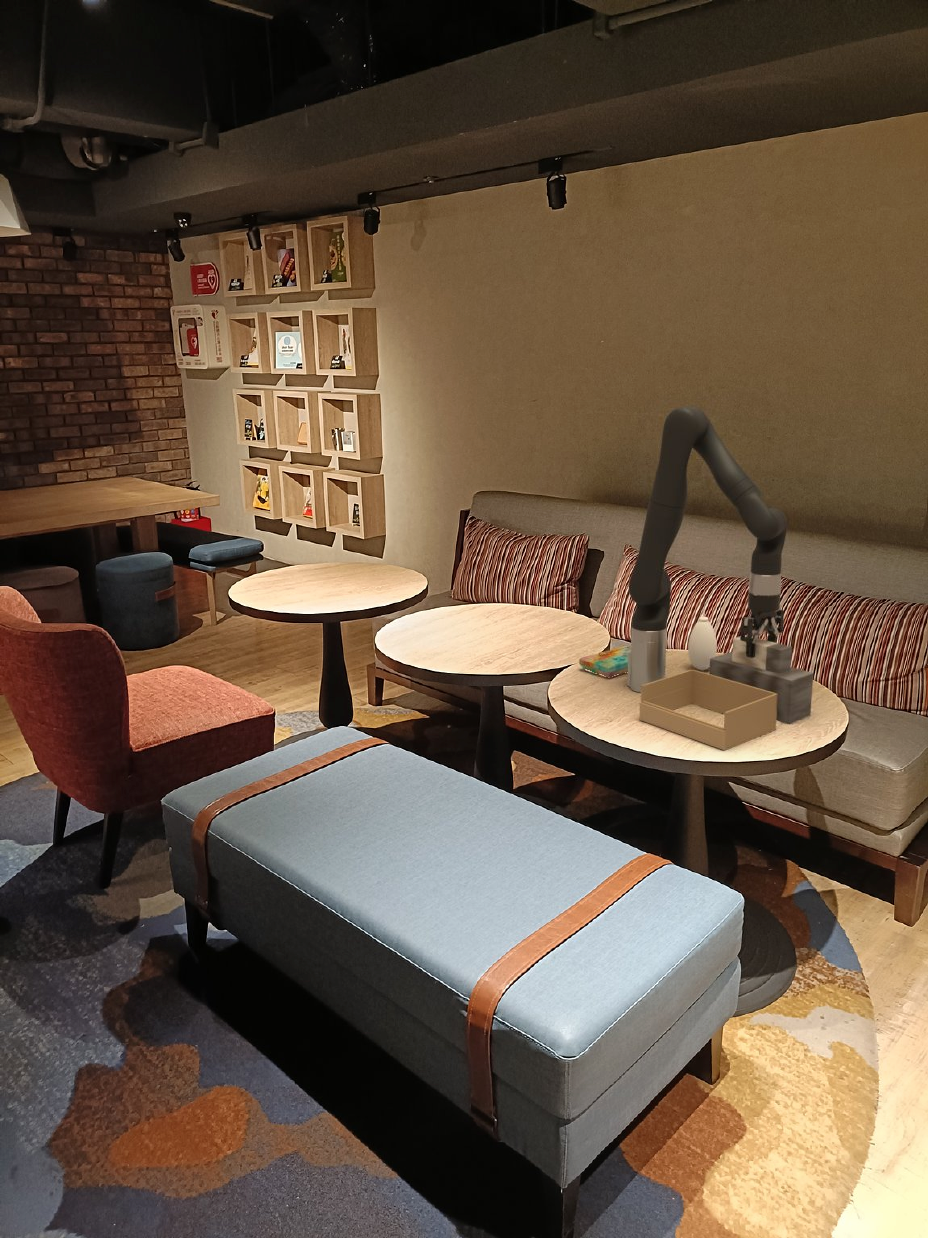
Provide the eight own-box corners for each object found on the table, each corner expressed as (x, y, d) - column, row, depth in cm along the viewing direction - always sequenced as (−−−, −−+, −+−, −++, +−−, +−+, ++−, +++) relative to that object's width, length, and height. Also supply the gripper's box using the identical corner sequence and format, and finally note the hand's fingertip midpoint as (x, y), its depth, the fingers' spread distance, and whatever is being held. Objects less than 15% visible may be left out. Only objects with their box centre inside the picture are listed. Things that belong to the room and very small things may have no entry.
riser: (708, 698, 241) (709, 658, 238) (729, 691, 246) (731, 651, 243) (788, 724, 222) (791, 680, 220) (810, 715, 228) (813, 673, 225)
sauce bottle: (683, 671, 264) (685, 609, 259) (693, 663, 270) (695, 604, 266) (709, 675, 260) (712, 613, 255) (719, 667, 266) (722, 607, 261)
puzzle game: (579, 656, 266) (626, 642, 277) (579, 671, 267) (626, 657, 279) (609, 665, 257) (656, 651, 268) (609, 681, 258) (656, 666, 270)
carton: (639, 720, 227) (640, 685, 225) (691, 702, 239) (692, 669, 236) (723, 750, 208) (725, 713, 206) (775, 729, 219) (778, 693, 217)
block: (732, 661, 236) (733, 638, 234) (743, 657, 238) (744, 635, 237) (779, 673, 225) (781, 650, 223) (790, 670, 227) (792, 646, 226)
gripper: (768, 583, 234) (765, 645, 238) (733, 592, 225) (730, 656, 229) (795, 588, 228) (790, 651, 232) (760, 597, 220) (756, 663, 224)
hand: (760, 653), depth 231 cm, fingers open, 8 cm apart
